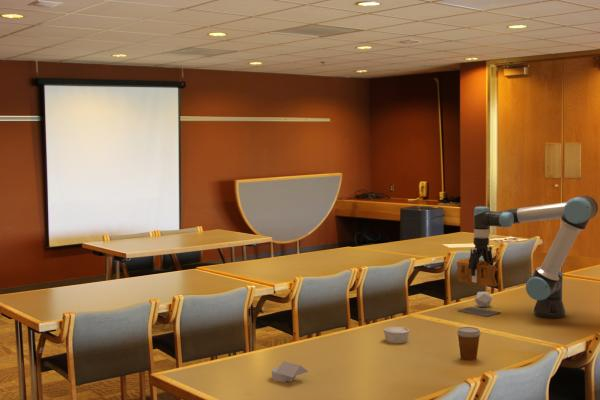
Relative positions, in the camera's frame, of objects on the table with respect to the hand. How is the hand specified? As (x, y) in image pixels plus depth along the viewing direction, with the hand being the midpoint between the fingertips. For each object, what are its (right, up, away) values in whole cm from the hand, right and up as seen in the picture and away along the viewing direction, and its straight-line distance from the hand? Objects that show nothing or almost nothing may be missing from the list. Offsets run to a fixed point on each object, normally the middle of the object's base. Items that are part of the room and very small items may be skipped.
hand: (480, 280), depth 393 cm
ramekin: (-49, -22, -51) cm, 74 cm away
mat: (0, -16, +2) cm, 16 cm away
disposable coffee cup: (-23, -23, -79) cm, 86 cm away
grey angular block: (-97, -26, -103) cm, 144 cm away
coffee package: (-8, +5, +9) cm, 13 cm away
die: (+5, -15, +15) cm, 22 cm away
